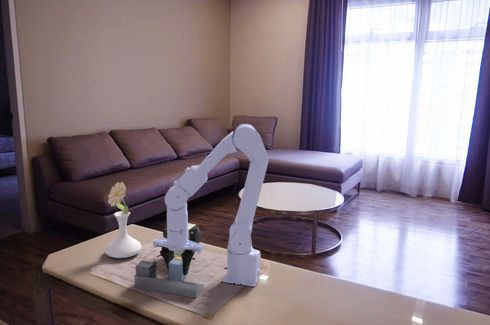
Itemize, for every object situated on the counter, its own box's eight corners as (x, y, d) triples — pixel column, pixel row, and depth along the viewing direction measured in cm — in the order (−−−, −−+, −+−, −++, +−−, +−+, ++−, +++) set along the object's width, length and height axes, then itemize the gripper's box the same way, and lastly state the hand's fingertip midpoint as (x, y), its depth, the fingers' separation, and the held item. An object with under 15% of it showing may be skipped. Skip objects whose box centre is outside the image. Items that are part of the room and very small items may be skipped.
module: (187, 274, 104) (187, 258, 103) (182, 281, 101) (181, 264, 100) (175, 272, 105) (174, 256, 104) (169, 279, 102) (168, 262, 101)
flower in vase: (104, 249, 120) (99, 177, 115) (139, 244, 125) (136, 174, 120) (107, 266, 108) (102, 187, 104) (145, 259, 113) (142, 183, 108)
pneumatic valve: (195, 263, 111) (195, 227, 109) (163, 257, 115) (162, 221, 113) (203, 256, 116) (203, 221, 114) (172, 250, 120) (171, 216, 118)
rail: (203, 287, 98) (203, 266, 96) (196, 297, 93) (196, 275, 92) (144, 278, 102) (143, 258, 101) (134, 287, 97) (133, 266, 96)
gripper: (147, 230, 98) (148, 275, 101) (196, 236, 95) (196, 283, 97) (159, 221, 105) (160, 264, 107) (205, 226, 101) (205, 270, 104)
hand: (178, 272), depth 103 cm, fingers closed on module, 4 cm apart
